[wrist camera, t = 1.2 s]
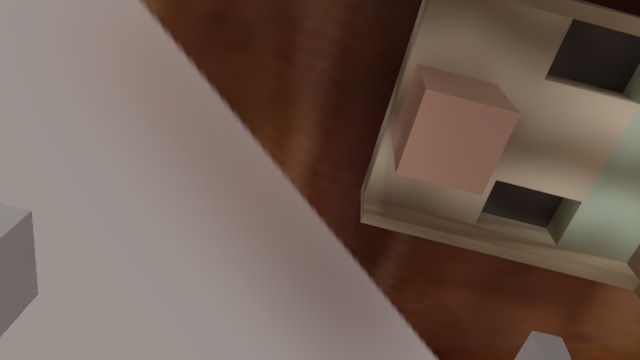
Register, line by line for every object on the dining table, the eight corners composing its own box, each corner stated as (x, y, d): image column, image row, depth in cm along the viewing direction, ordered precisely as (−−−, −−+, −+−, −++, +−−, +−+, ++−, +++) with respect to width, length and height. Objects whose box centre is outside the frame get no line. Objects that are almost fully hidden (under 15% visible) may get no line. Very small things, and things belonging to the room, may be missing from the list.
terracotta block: (416, 63, 29) (426, 88, 24) (497, 84, 29) (520, 113, 25) (391, 138, 31) (395, 173, 27) (465, 157, 31) (482, 195, 27)
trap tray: (435, -40, 28) (449, -33, 24) (753, 47, 29) (831, 71, 24) (360, 189, 36) (360, 230, 31) (615, 253, 37) (653, 303, 32)
